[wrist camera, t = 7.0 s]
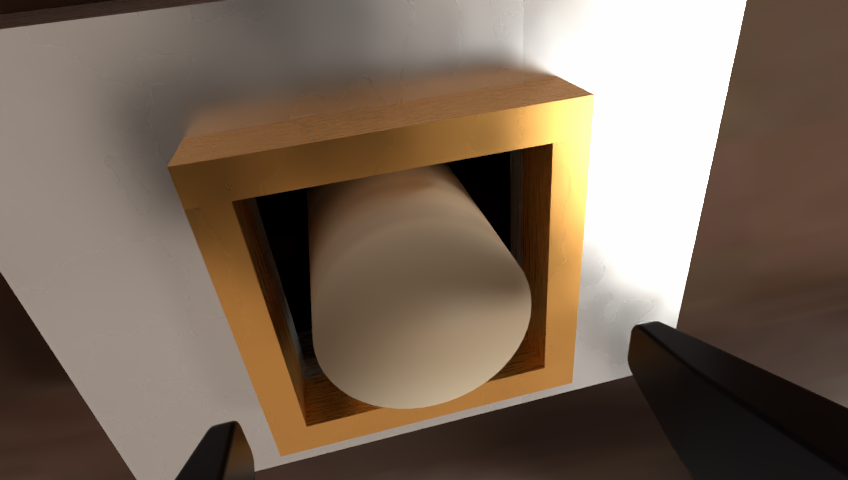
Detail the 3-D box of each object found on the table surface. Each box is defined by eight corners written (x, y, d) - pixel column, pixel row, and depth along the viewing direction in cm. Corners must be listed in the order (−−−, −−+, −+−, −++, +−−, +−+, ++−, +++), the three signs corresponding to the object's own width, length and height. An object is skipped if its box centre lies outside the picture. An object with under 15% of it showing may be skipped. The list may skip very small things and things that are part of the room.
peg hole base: (596, 286, 20) (699, 401, 15) (179, 381, 18) (134, 553, 13) (632, -64, 14) (828, -70, 9) (-3, 15, 12) (-232, 68, 7)
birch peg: (450, 234, 17) (530, 381, 11) (322, 259, 17) (336, 429, 11) (440, 107, 15) (533, 209, 9) (291, 131, 14) (288, 257, 9)
